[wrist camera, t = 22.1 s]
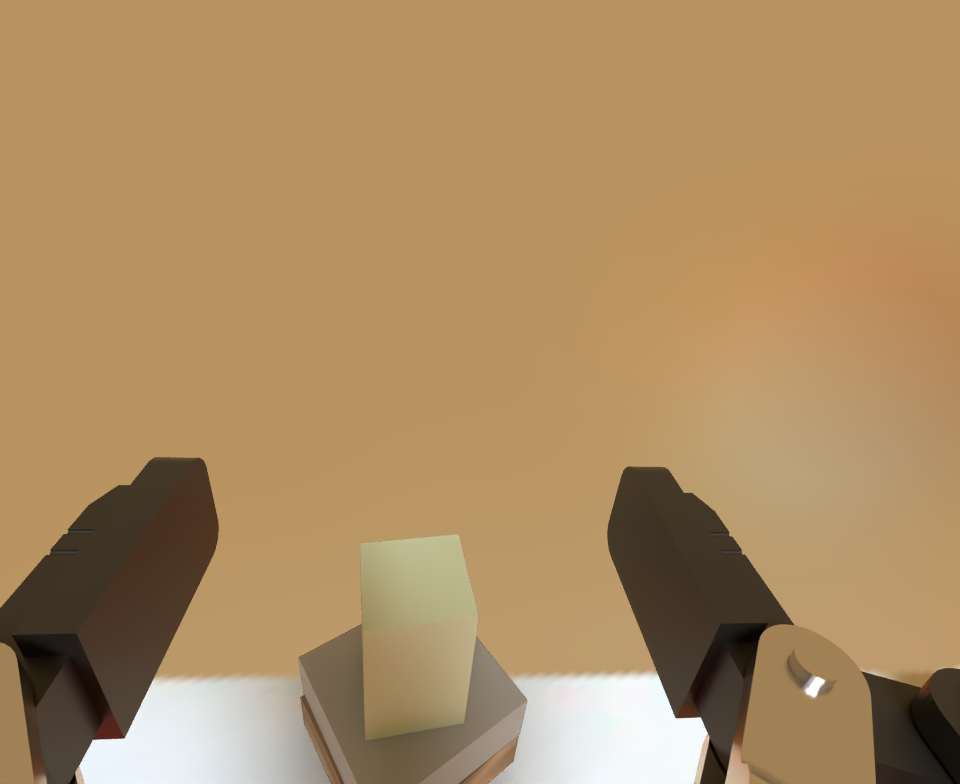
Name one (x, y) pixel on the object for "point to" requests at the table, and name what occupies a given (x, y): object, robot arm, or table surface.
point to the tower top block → (413, 756)
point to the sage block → (416, 634)
